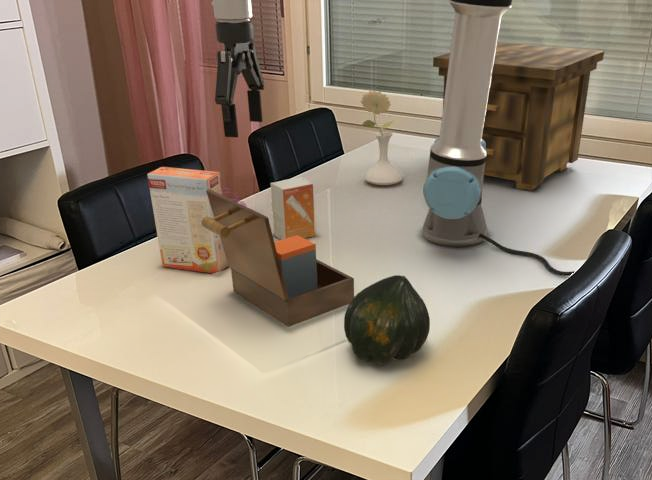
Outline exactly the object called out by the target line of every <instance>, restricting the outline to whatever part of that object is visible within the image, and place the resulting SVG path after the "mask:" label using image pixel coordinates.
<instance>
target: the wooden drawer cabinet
mask: <svg viewBox="0 0 652 480" xmlns="http://www.w3.org/2000/svg"><path fill="white" fill-rule="evenodd" d="M604 57H605V50H598V49H597V50H596V49H584V48H573V47H564V46H563V47H561V46H550V45H549V46H548V45H537V44H527V43H526V44H525V43H514V42H503V41H497V46H496V52H495V59H494V65H493V71H492V77H491V84H490V90H489V96H488V102H487V109H486V115H485V121H484V127H483V134H482V139H483V140H484V141H485V143H486V152H487V155H486V161H485V168H484V176H488V177H494V178H500V179H504V180H510V181H516V183H515V185H516V186H515V188H517V189H521V190H526V191H533V190H534V189H536V188H538V187H539V185H540V184H542V183H544V182H545V178H546V177H548V176H549V175H551V174H553V173H554V172H560V173H561V172H562V171H564V170H565V169H567V167H568V164H573V163H575V162H577V161H578V159H579V155H580V154H579V153H580V146H581V138H582V132H583V126H584V118H585V112H586V106H587V98H588V92H589V84H590V79H591V72H593V71H595V70H597V68H598V63H600V62H602V61H604ZM449 59H450V52H449V53H444V54H441V55H437V56H433V57H432V60H433V61H432V67H433V68H438V76H439V77H443V95H442V96H443V97H442V107H443V106H444V98H445V90H446V82H447V74H448V67H449Z"/></svg>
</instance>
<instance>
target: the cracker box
mask: <svg viewBox="0 0 652 480" xmlns="http://www.w3.org/2000/svg"><path fill="white" fill-rule="evenodd" d="M146 175H147V176H146V177H147V181H148V188H149V193H150V194H149V195H150V199H151V205H152V211H153V217H154V224H155V229H156V237H157V241H158V242H157V243H158V246H159V247H158V248H159V252H160V253H159V254H160V259H161V265H162V267H164V268H172V269H178V270H187V271H192V272H201V273H207V274H212V275H213V274H216V273H219V272H222V271H224V270H225V269H226V268H229V266H228V262H227V259H226V255H225V252H224V249H223V245H222V242H221V239H220V236H219V235H217V234H215V233H214V232H212V231H210V230H208V229H206V228H205V227H203V226H202V219H203V218H204V217H210V218H213V217H214V215H213V212H212V209H211V205H210V202H209V199H208V195H207V192H206V191H207V190H209V189H210V190H212V191H214V192H217V193H219V194H221V195H223V188H222V182H221V181H222V180H221V173H220V171H213V170H212V171H211V170H203V169H202V170H201V169H191V168H190V169H189V168H179V167H171V166H170V167H169V166H159V167H158V168H157V169H155V170H152V171H150V172H148V173H147V174H146Z"/></svg>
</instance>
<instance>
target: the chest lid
mask: <svg viewBox="0 0 652 480" xmlns="http://www.w3.org/2000/svg"><path fill="white" fill-rule="evenodd" d="M206 192H207V195H208V199H209V202H210V205H211V209H212V212H213V215H214V217H213V218H210V217H204V218H203V219H202V226H203V227H205V228H206V229H208V230H210V231H212V232H214V233H215V234H217V235H219V236H220V239H221V242H222V245H223V249H224V252H225V255H226V259H227V262H228V268H230V270H231V269H233V270H235V271H236V272H238V273H240V274H241V275H243V276H245V277H246V278H248V279H250V280H251V281H253V282H255V283H256V284H258V285H260V286H261V287H263V288H265V289H266V290H268V291H270V292H271V293H273V294H275V295H276V296H278V297H280V298H281V299H283V300H285V301H286V300H287V299H288V295H287V291H286V287H285V283H284V279H283V275H282V271H281V267H280V263H279V259H278V255H277V251H276V247H275V243H274V242H275V238H274V236H273V235H274V234H273V232H272V227H271V223H270V219H269V217H268V216H267V215H264V214H262V213H260V212H258V211H256V210H254V209H252V208H250V207H248V206H246V205H245V206H244V204H243V205H241V204H240V203H239V202H238V203H237V202H235V201H233V200H234V199H233V200H231V199H232V198H229V197H228V196H225V195H223V194H222V195H221V194H219V193H217V192H214V191H212V190H210V189H209V190H207V191H206Z"/></svg>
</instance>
